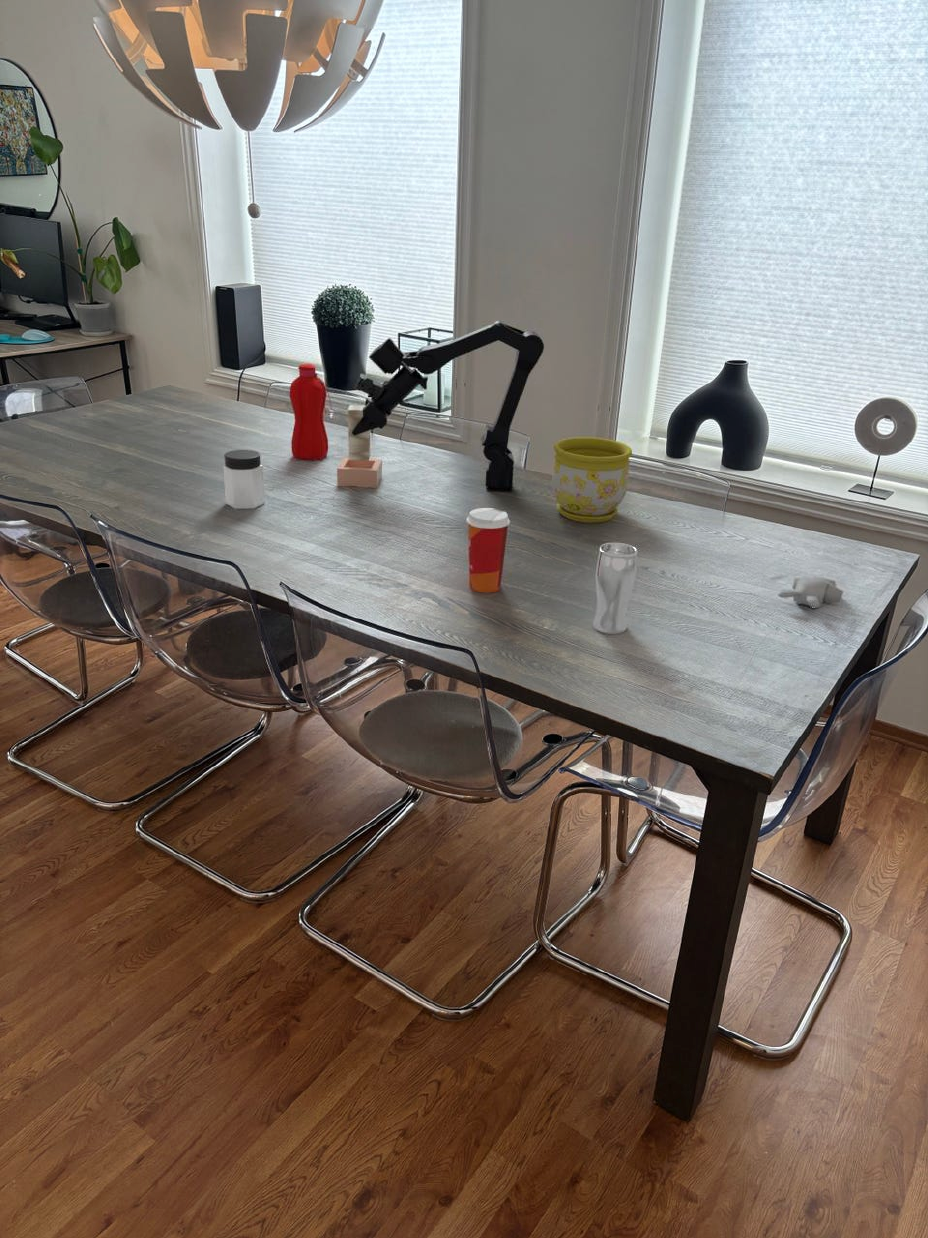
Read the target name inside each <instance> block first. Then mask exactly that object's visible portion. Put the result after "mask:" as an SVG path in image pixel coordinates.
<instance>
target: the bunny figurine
mask: <svg viewBox="0 0 928 1238" xmlns="http://www.w3.org/2000/svg"><path fill="white" fill-rule="evenodd" d="M791 588H792V589H781V591H780V592H779V593H778V595H777V596H778V597H780V598H785V599H786V598H787V599H788V598H792V599H793V602H795V603H796V602H797V603H799V604H801V605H806V606H809V608H810V607H813V608H814V607H815V609H819V607H820V606H821V604H822V605H823V603H840V602H841V600H842V597H843V593H844V590H843V589H840V588H838V587H837V584H836V580H832V579H829V578H825V577H821V576H818V575H814V574H813V575H812V577H809V576H802V577H794V579H793V584H792V587H791ZM797 603H796V604H797ZM821 607H822V606H821ZM821 607H820V608H821Z"/></svg>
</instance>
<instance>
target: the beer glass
mask: <svg viewBox="0 0 928 1238" xmlns="http://www.w3.org/2000/svg"><path fill="white" fill-rule="evenodd" d="M595 567H596V568H595V590H596V591H595V592H596V613H595V615H594V619H593V621H592V622H593V623H592V626H593V628H594V629H595V630H596V631H598V632H600V633H603V634H607V635H618V634H622V633H624V632H625V631H627V629H628V626H627V625H628V622H627V611H628V610H627V609H628V605H629V602H630V600H631V596H632V594H633V589H634V587H635V582H636V576H637V570H638V569H637V567H638V549H637V547H634V546H633V545H630V544H627V543H624V542H623V543H622V542H606V543H603V544H601V545H600V546H599V550H598V557H597V560H596V566H595Z"/></svg>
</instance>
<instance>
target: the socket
mask: <svg viewBox="0 0 928 1238" xmlns="http://www.w3.org/2000/svg"><path fill="white" fill-rule="evenodd" d="M382 477H383V459H381V458H380V459H377V458H369V461H367V460H349V457H343V458H342V459H341V461H340V463H339V465H338V466H337V468H336V479H337V480H336V482H337V487H348V486H357V487H356V488H368V487H376V488H375V489H377V488H378V486H379V484H380V482H381V480H380V479H382ZM379 481H380V482H379Z"/></svg>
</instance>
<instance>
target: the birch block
mask: <svg viewBox="0 0 928 1238" xmlns="http://www.w3.org/2000/svg"><path fill="white" fill-rule="evenodd" d="M363 407H365V405H357V404H356V405H355V404H354V405H350V404H349V406H348V407H347V424H348V426H347V427H348V428H347V430H348V431H347V434H348V435H347V436H348V437H347V438H348V441H347V442H348V458H349V460H367V461H369V459H371V430H369V431H366V432H363V433H361V434H358V435H355V436H354V435H353V434H352V431H353V430H354V428H355V427H356V425H357V424H358V422H359V421H360V420H361V418H362V417H363Z"/></svg>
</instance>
